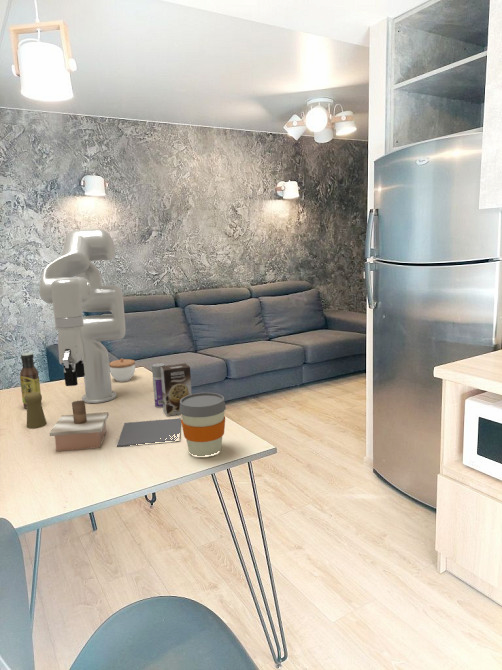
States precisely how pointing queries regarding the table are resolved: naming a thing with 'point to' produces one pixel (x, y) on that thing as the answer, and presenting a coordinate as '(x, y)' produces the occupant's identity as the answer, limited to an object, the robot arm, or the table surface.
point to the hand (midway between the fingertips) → (75, 381)
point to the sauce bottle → (28, 376)
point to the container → (157, 384)
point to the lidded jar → (122, 369)
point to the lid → (79, 421)
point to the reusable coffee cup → (203, 422)
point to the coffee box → (175, 386)
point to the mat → (149, 432)
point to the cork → (34, 410)
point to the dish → (80, 440)
